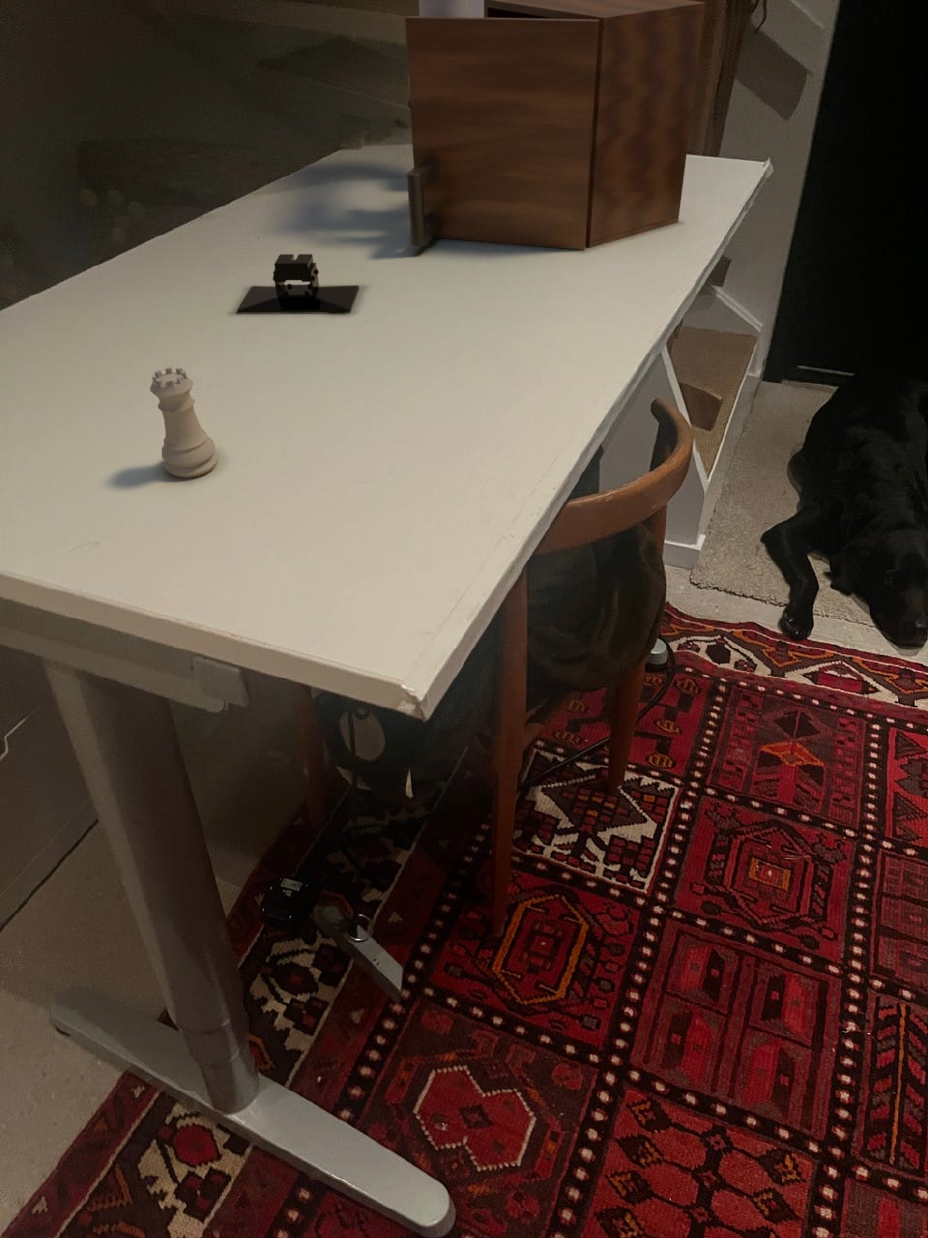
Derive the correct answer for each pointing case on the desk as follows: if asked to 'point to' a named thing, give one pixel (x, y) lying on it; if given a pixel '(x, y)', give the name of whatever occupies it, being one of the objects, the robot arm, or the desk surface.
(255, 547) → the desk surface
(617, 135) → the cupboard
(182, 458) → the rook chess piece
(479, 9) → the robot arm
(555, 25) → the cupboard door
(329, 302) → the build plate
